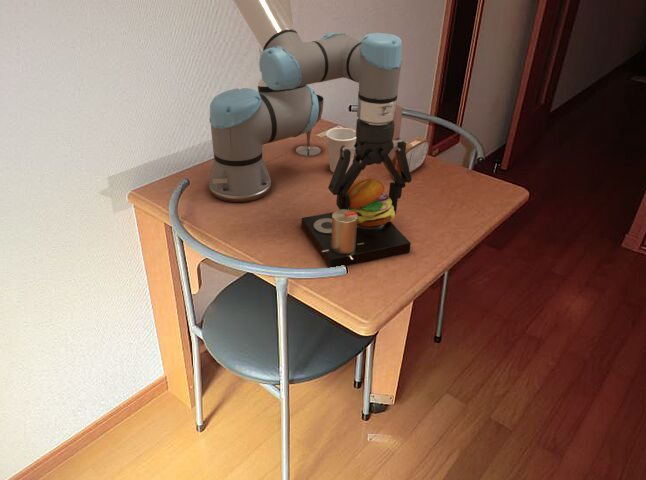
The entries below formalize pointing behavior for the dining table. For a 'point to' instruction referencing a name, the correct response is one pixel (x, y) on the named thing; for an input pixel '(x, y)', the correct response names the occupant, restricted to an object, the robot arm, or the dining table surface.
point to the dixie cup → (339, 144)
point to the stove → (358, 243)
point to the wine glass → (309, 149)
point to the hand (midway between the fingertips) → (367, 215)
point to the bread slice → (414, 154)
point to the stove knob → (344, 231)
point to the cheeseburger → (370, 202)
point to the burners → (326, 226)
